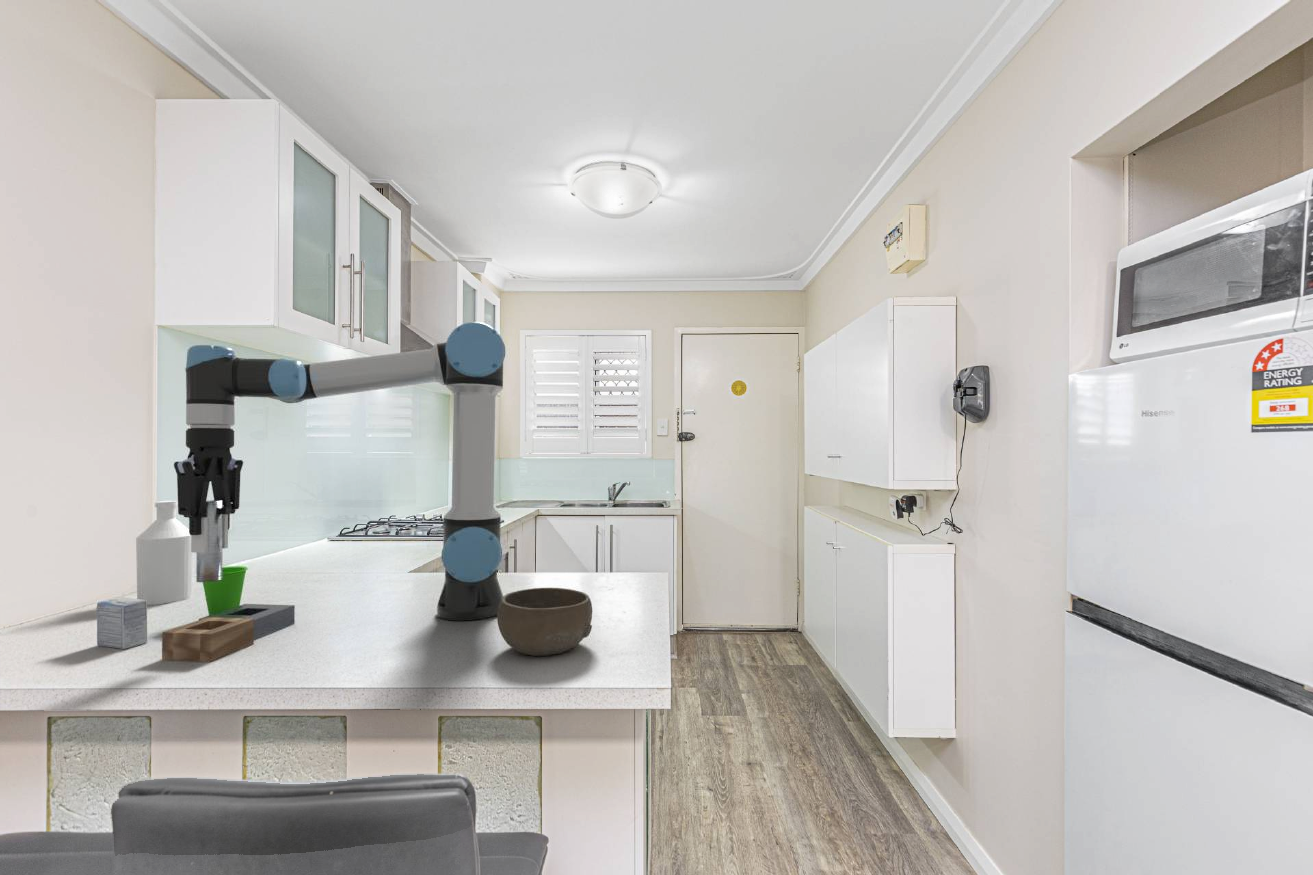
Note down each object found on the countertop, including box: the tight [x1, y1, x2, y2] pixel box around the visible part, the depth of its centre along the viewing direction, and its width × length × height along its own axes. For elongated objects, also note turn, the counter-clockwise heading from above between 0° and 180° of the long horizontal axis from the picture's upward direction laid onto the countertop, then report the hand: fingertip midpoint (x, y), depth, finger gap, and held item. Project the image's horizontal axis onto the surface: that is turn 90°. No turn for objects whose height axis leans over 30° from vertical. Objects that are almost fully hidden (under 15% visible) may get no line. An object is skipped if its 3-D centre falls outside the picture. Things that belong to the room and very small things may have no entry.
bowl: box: [496, 587, 593, 657], centre depth 119 cm, size 17×18×10 cm
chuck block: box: [198, 603, 296, 641], centre depth 131 cm, size 12×12×4 cm
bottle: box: [135, 500, 195, 606], centre depth 159 cm, size 12×12×25 cm
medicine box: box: [96, 596, 148, 650], centre depth 122 cm, size 8×4×9 cm, turn 71°
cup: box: [202, 565, 249, 616], centre depth 141 cm, size 9×9×11 cm
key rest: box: [161, 617, 255, 663], centre depth 118 cm, size 10×10×5 cm
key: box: [195, 499, 232, 583], centre depth 118 cm, size 4×8×15 cm, turn 83°
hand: (209, 549), depth 118 cm, fingers closed on key, 4 cm apart
